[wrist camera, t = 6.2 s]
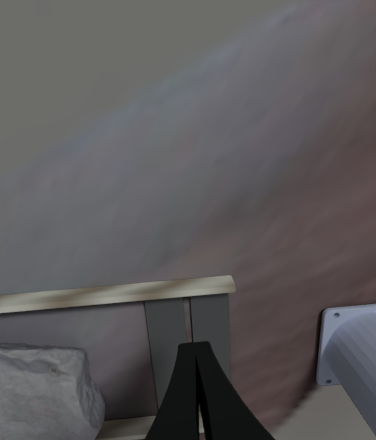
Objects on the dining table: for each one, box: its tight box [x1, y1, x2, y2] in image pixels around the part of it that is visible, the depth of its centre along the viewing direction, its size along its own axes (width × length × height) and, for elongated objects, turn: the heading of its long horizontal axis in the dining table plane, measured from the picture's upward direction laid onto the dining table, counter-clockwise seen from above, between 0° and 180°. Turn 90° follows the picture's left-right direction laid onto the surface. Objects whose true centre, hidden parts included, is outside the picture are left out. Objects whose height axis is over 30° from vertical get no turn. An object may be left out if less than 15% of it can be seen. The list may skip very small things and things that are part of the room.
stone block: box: [0, 343, 105, 440], centre depth 23 cm, size 12×5×10 cm
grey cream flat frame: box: [0, 275, 236, 440], centre depth 23 cm, size 24×14×2 cm, turn 94°
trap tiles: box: [144, 293, 230, 410], centre depth 24 cm, size 7×12×1 cm, turn 4°
